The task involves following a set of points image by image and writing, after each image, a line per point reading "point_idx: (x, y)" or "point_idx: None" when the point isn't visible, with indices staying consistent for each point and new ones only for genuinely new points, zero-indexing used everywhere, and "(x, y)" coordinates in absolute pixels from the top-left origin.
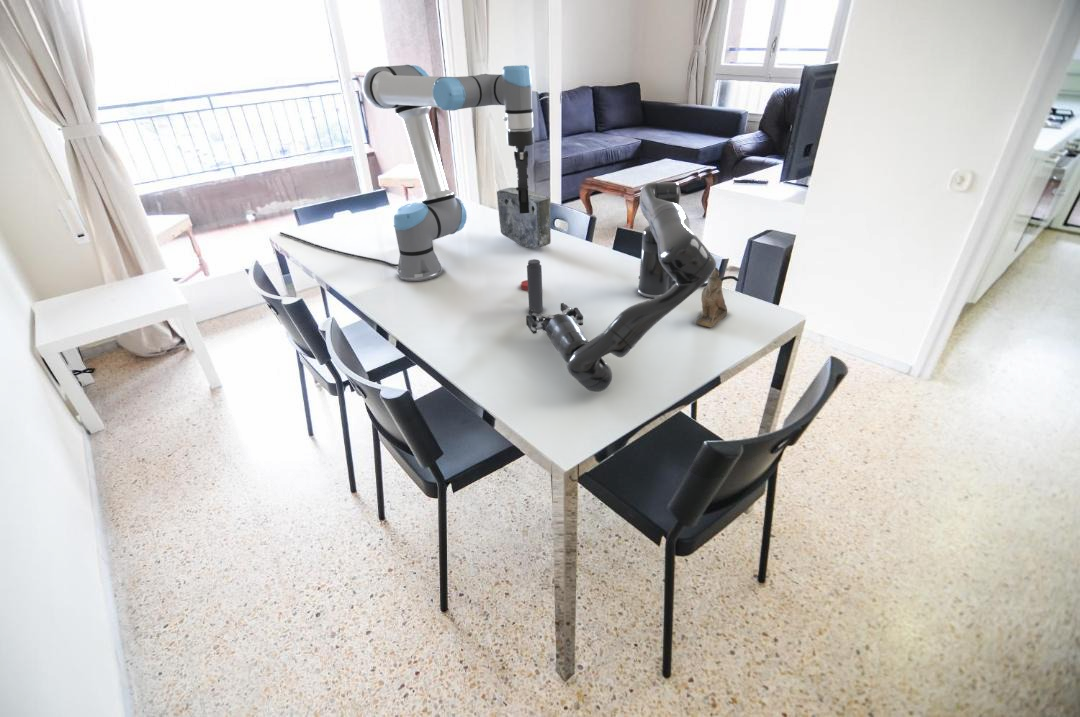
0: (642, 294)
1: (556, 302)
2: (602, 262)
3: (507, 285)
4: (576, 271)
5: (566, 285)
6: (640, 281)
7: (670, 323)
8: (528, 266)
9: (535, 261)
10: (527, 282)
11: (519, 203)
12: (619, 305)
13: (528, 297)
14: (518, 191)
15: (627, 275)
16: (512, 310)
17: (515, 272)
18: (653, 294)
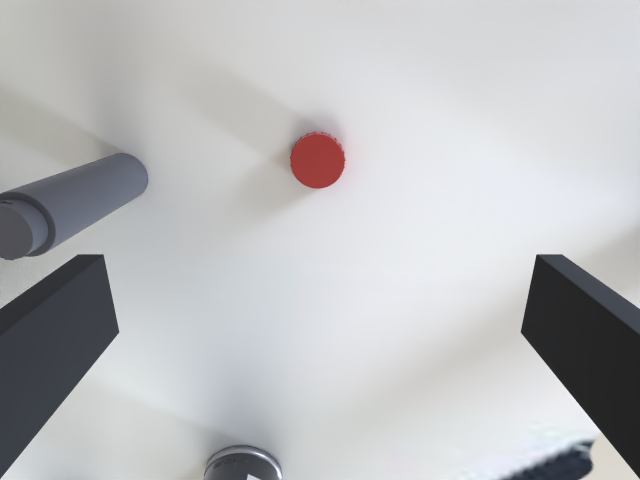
0: (220, 453)
1: (190, 242)
2: (484, 400)
3: (349, 77)
4: (429, 322)
5: (318, 282)
6: (227, 477)
7: (75, 469)
8: (10, 199)
9: (2, 240)
10: (320, 159)
11: (11, 304)
12: (168, 394)
13: (92, 162)
14: (604, 309)
15: (365, 442)
16: (127, 95)
17: (476, 111)
18: (204, 476)
